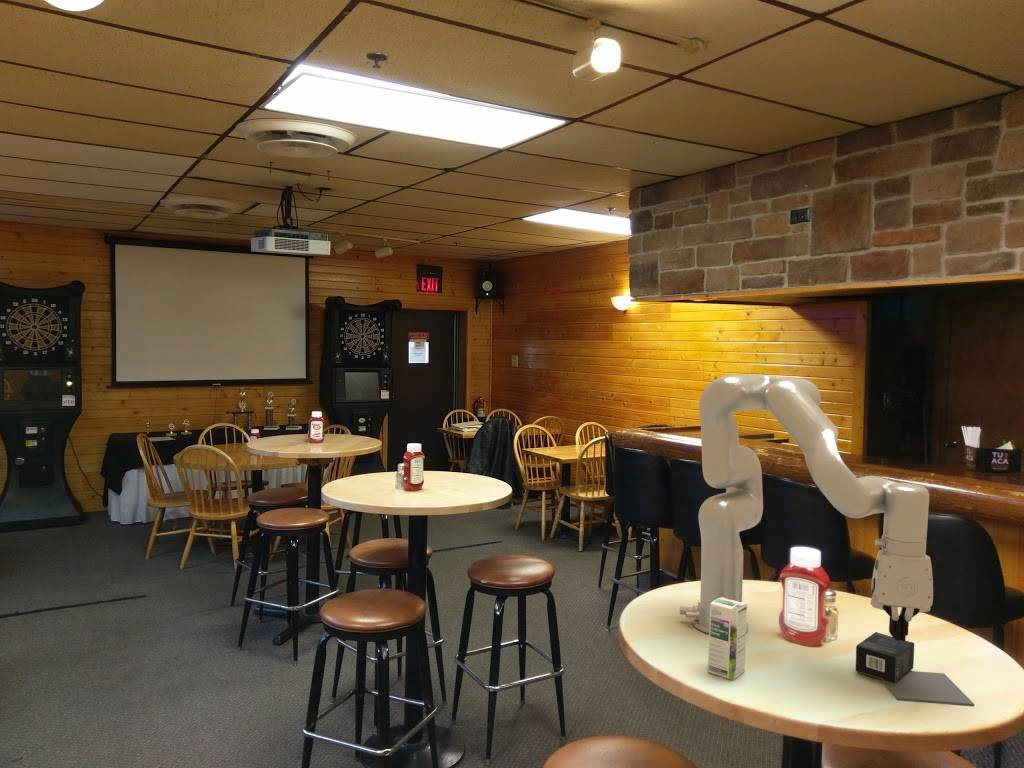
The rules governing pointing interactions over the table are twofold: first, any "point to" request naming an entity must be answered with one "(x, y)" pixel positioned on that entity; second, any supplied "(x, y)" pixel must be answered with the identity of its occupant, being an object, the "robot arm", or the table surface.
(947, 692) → the mat
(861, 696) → the table surface
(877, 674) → the box
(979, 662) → the table surface
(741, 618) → the syrup box
